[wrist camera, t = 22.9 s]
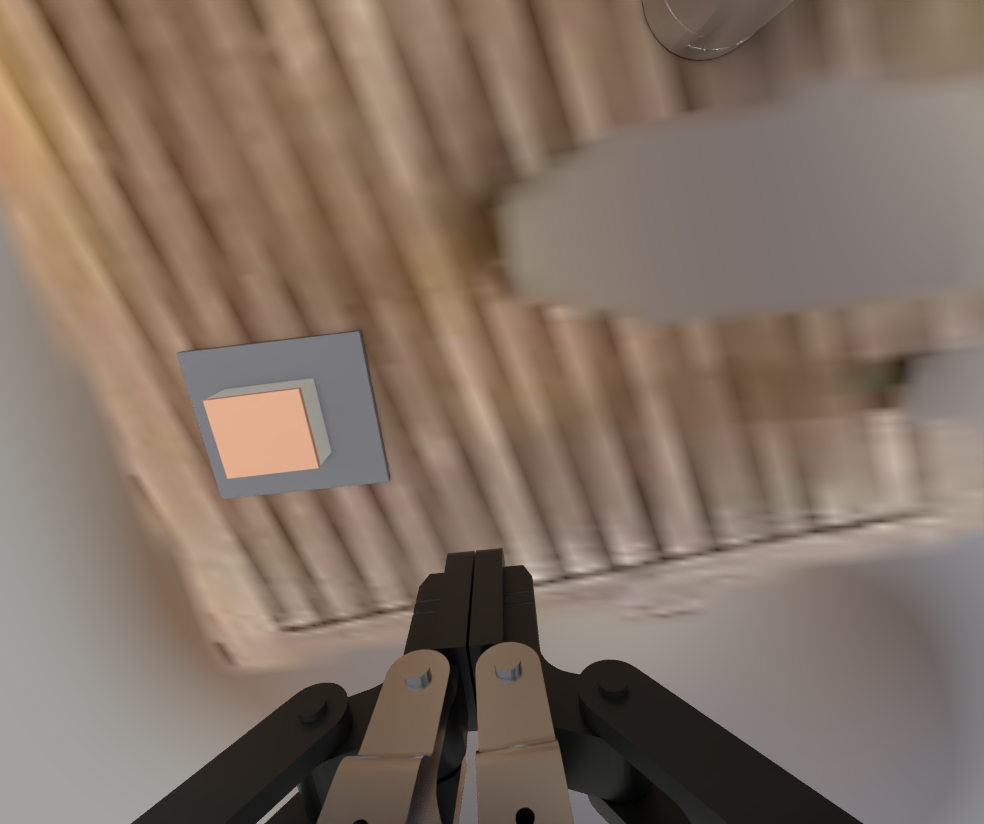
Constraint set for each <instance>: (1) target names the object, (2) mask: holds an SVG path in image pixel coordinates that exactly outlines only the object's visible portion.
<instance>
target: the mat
mask: <svg viewBox="0 0 984 824" xmlns="http://www.w3.org/2000/svg"><path fill="white" fill-rule="evenodd" d="M176 354H177V357H178V360H179V363H180V367H181V370H182V373H183V376H184V380H185V383H186V386H187V389H188V392H189V396H190V399H191V402H192V405H193V408H194V412H195V415H196V418H197V421H198V424H199V428H200V431H201V434H202V437H203V440H204V444H205V447H206V450H207V453H208V456H209V460H210V463H211V466H212V469H213V473H214V476H215V479H216V482H217V485H218V489H219V492H220V495H221V498H222V499H227V498H237V497H246V496H256V495H265V494H275V493H284V492H294V491H304V490H313V489H323V488H332V487H342V486H352V485H361V484H371V483H380V482H389V480H390V475H389V470H388V465H387V460H386V455H385V450H384V445H383V440H382V435H381V430H380V425H379V419H378V414H377V409H376V404H375V399H374V394H373V389H372V384H371V379H370V374H369V369H368V364H367V359H366V354H365V349H364V344H363V339H362V334H361V330H360V331H351V332H343V333H335V334H326V335H318V336H310V337H301V338H293V339H284V340H276V341H268V342H259V343H251V344H242V345H234V346H226V347H217V348H209V349H201V350H192V351H184V352H179V353H176ZM310 378H313V379H314V383H315V387H316V391H317V395H318V399H319V403H320V407H321V411H322V416H323V420H324V424H325V428H326V432H327V436H328V440H329V444H330V448H331V453H330V455H329V456H328V457H327V458H326V460H325V461H324V462H323V463H322V465H321V466H320V467H319V468H316V469H307V470H298V471H290V472H281V473H273V474H264V475H256V476H247V477H239V478H230V479H227V476H226V473H225V470H224V467H223V463H222V460H221V457H220V454H219V451H218V448H217V444H216V441H215V438H214V435H213V432H212V429H211V425H210V422H209V419H208V416H207V413H206V410H205V406H204V403H203V400H205V399H207V398H209V397H211V396H213V395H215V394H217V393H219V392H220V391H222V390H224V389H231V388H239V387H247V386H255V385H263V384H271V383H279V382H287V381H294V380H302V379H310Z"/></svg>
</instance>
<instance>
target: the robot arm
mask: <svg viewBox="0 0 984 824" xmlns="http://www.w3.org/2000/svg"><path fill="white" fill-rule="evenodd" d="M793 1H794V0H642V2H643V7H644V12H645V17H646V19H647V22H648V24H649V26H650V29H651V31H652V32H653V34H654V35H655V36H656V38H657V39H658V41H659V42H660V43H661V44H662V45H663V46H665V47H666V48H667V49H668V50H669V51H671V52H673V53H675V54H676V55H678V56H680V57H683V58H688V59H692V60H708V59H712V58H716V57H720V56H722V55H724V54H726V53H728V52H730V51H732V50H734V49H735V48H737V47H738V46H739V45H740V44H742V43H743V42H745V41H746V40H748V39H749V38H750V37H751V36H752V35H753V34H754V33H755V32H756V31H758V30H759V29H760V28H761V27H763V26H764V25H765V24H767V23H768V22H769V21H770V20H771V19H773V18H774V17H775V16H776V15H778V14H779V13H780V12H781V11H782V10H784V9H785V8H786V7H787V6H788V5H790V4H791V3H792V2H793ZM413 613H414V615H413V617H412V621H411V625H410V630H409V634H408V638H407V642H406V647H405V651H404V655H403V656H402V657H401V658H399V659H398V660H397V661H395V662H394V664H393V665H392V666H391V667H390V669H389V670H388V672H387V675H386V677H385V680H384V682H383V683H382V684H380V685H378V686H377V687H374V688H372V689H370V690H367V691H364V692H361V693H358V694H356V695H353V696H350V697H347V693H346V691H345V690H344V689H343V688H342V687H341V686H339V685H337V684H334V683H320V684H315V685H312V686H310V687H307V688H305V689H303V690H302V691H300V692H299V693H297V694H296V695H294V696H293V697H292V698H290V699H289V700H288V701H287V702H285V703H284V704H283V705H282V706H280V707H279V708H278V709H276V710H275V711H274V712H273V713H272V714H270V715H269V716H268V717H266V718H265V719H264V720H262V721H261V722H260V723H259V724H258V725H256V726H255V727H254V728H252V729H251V730H250V731H248V732H247V733H246V734H245V735H243V736H242V737H241V738H239V739H238V740H237V741H236V742H235V743H233V744H232V745H231V746H229V747H228V748H227V749H226V750H224V751H223V752H222V753H220V754H219V755H218V756H217V757H215V758H214V759H213V760H212V761H210V762H209V763H208V764H206V765H205V766H204V767H203V768H201V769H200V770H199V771H198V772H196V773H195V774H194V775H192V776H191V777H190V778H189V779H188V780H186V781H185V782H183V783H182V784H181V785H180V786H178V787H177V788H176V789H175V790H173V791H172V792H171V793H170V794H168V795H167V796H166V797H164V798H163V799H162V800H161V801H159V802H158V803H157V804H155V805H154V806H153V807H152V808H150V809H149V810H148V811H147V812H145V813H144V814H143V815H141V816H140V817H139V818H138V819H136V820H135V821H134V822H133V823H131V824H256V823H257V822H258V821H259V820H260V819H261V818H262V817H264V816H265V815H266V814H267V812H269V811H270V810H271V809H272V808H273V807H274V806H275V805H276V804H278V803H279V802H280V801H281V800H282V799H283V798H284V797H285V796H286V795H287V794H288V793H289V792H290V791H292V790H293V789H294V788H295V787H296V786H297V787H298V790H299V792H298V793H297V794H296V795H295V796H293V798H291V799H290V800H289V801H288V802H287V803H286V804H285V805H284V806H283V807H282V808H281V809H280V810H279V811H278V812H276V813H275V814H274V815H273V816H272V817H271V818H270V819H269V820H268V821H267V822H266V823H265V824H459V821H460V814H461V807H462V800H463V792H464V784H465V778H466V771H467V760H466V748H467V734H468V731H478V746H479V751H476V785H477V817H478V824H575V823H574V817H573V812H572V807H571V802H570V797H569V792H568V789H571V790H574V791H578V792H581V793H585V794H587V795H588V798H589V800H590V802H591V804H592V805H593V807H594V808H595V809H596V811H597V812H598V813H599V814H600V815H601V816H602V817H603V818H604V819H605V820H606V821H607V822H608V823H609V824H863V823H861V822H860V821H858V820H857V819H856V818H854V817H852V816H851V815H850V814H848V813H847V812H845V811H844V810H842V809H841V808H839V807H838V806H836V805H835V804H833V803H832V802H831V801H829V800H828V799H826V798H825V797H823V796H822V795H821V794H819V793H818V792H816V791H815V790H813V789H812V788H810V787H809V786H807V785H806V784H804V783H803V782H802V781H800V780H798V779H797V778H796V777H794V776H793V775H791V774H790V773H789V772H787V771H786V770H784V769H783V768H781V767H780V766H778V765H777V764H775V763H774V762H772V761H771V760H769V759H768V758H766V757H765V756H764V755H762V754H761V753H759V752H758V751H756V750H755V749H754V748H752V747H751V746H749V745H748V744H746V743H745V742H743V741H742V740H740V739H739V738H738V737H736V736H734V735H733V734H732V733H730V732H729V731H727V730H726V729H724V728H723V727H721V726H720V725H719V724H717V723H716V722H714V721H713V720H711V719H710V718H708V717H707V716H705V715H704V714H702V713H701V712H699V711H698V710H697V709H695V708H694V707H692V706H691V705H689V704H688V703H686V702H685V701H684V700H682V699H681V698H679V697H678V696H676V695H675V694H673V693H672V692H670V691H669V690H668V689H666V688H664V687H663V686H662V685H660V684H659V683H657V682H656V681H654V680H653V679H651V678H650V677H649V676H647V675H646V674H644V673H643V672H641V671H640V670H638V669H637V668H635V667H634V666H632V665H630V664H628V663H626V662H622V661H618V660H602V661H598V662H595V663H593V664H591V665H589V666H588V667H586V668H585V669H584V670H583V671H582V673H581V674H574V673H569V672H565V671H562V670H560V669H557V668H556V667H554V666H552V665H551V664H549V663H548V662H547V661H546V660H545V659H544V657H543V656H542V654H541V652H540V645H539V635H538V625H537V615H536V607H535V598H534V589H533V580H532V576H531V574H530V573H529V572H528V571H527V569H526V568H525V567H524V566H523V565H519V566H509V567H505V561H504V553H503V548H499V549H488V550H478V551H476V554H475V551H469V552H458V553H448V555H447V560H446V566H445V572H444V573H436V574H430V575H429V576H428V577H427V578H426V579H425V581H424V582H423V583H422V584H421V586H420V587H419V591H418V595H417V599H416V604H415V608H414V612H413Z"/></svg>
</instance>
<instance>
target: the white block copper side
mask: <svg viewBox="0 0 984 824" xmlns="http://www.w3.org/2000/svg"><path fill="white" fill-rule="evenodd" d="M203 403H204V406H205V410H206V413H207V416H208V419H209V422H210V425H211V429H212V432H213V435H214V438H215V441H216V444H217V448H218V451H219V454H220V457H221V460H222V463H223V467H224V470H225V473H226V476H227V479H230V478H239V477H247V476H256V475H264V474H273V473H281V472H290V471H298V470H307V469H316V468H319V467H320V466H321V465H322V463H323V462H324V461H325V460H326V458H327V457H328V456H329V455H330V453H331V448H330V444H329V440H328V436H327V432H326V428H325V424H324V420H323V416H322V411H321V407H320V403H319V399H318V395H317V391H316V387H315V383H314V379H313V378H310V379H302V380H294V381H287V382H279V383H271V384H263V385H255V386H247V387H239V388H231V389H224V390H222V391H220V392H219V393H217V394H215V395H213V396H211V397H209V398H207V399H205V400H203Z"/></svg>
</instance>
